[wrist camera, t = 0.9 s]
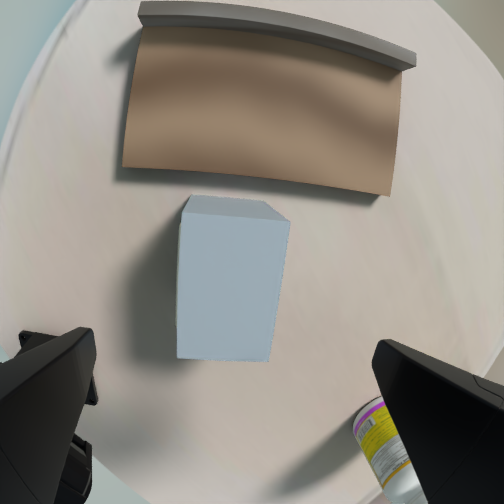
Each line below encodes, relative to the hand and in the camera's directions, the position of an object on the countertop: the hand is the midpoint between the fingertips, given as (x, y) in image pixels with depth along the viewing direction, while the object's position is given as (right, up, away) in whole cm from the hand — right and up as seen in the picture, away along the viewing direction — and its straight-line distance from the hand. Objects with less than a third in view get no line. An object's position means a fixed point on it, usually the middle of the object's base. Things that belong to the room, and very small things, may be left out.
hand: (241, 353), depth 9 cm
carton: (-2, +3, +12) cm, 12 cm away
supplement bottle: (+13, -14, +19) cm, 27 cm away
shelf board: (+2, +12, +9) cm, 15 cm away
